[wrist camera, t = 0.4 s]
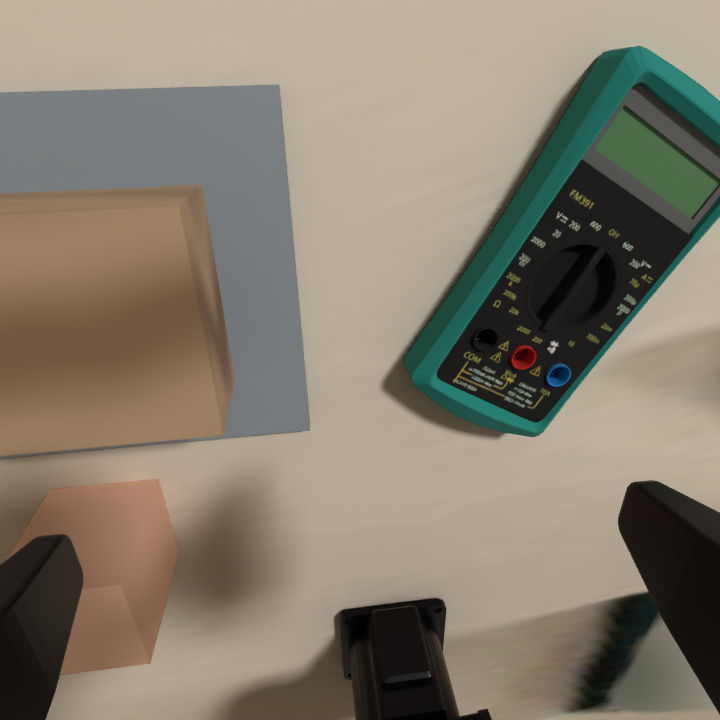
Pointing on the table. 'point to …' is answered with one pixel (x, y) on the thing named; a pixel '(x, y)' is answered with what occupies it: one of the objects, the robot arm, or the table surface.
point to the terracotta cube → (113, 568)
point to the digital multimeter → (577, 246)
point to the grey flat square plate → (223, 205)
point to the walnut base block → (109, 320)
